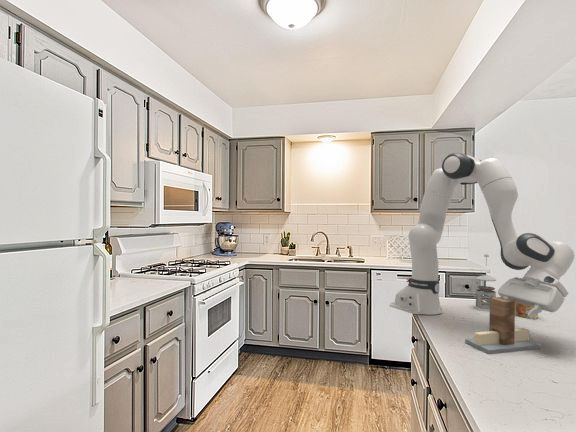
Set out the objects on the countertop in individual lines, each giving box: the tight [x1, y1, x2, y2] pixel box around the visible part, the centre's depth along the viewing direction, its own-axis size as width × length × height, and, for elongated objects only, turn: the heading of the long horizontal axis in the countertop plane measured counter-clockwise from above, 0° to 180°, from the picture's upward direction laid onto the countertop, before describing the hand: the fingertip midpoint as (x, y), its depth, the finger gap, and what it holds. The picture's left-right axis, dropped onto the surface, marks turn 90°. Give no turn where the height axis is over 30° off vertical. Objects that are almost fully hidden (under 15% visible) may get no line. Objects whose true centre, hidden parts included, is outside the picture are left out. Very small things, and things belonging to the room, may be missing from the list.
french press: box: [469, 254, 497, 313], centre depth 163 cm, size 10×12×25 cm
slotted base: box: [464, 327, 541, 355], centre depth 117 cm, size 20×10×5 cm, turn 105°
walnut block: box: [488, 296, 516, 345], centre depth 117 cm, size 4×6×14 cm
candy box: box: [515, 302, 539, 320], centre depth 151 cm, size 9×4×15 cm, turn 44°
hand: (515, 312), depth 118 cm, fingers open, 8 cm apart
